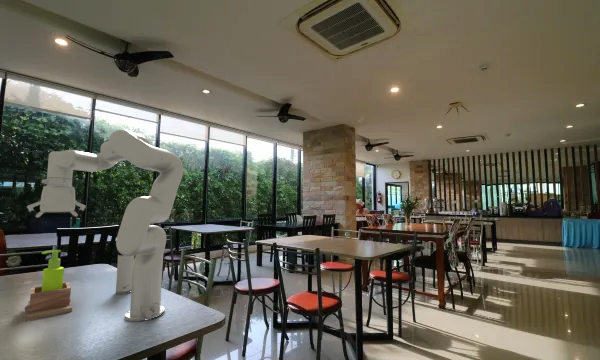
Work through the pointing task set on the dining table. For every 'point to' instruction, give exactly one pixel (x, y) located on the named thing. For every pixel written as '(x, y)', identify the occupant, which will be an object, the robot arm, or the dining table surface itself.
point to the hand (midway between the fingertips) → (56, 227)
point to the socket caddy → (49, 302)
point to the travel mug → (124, 273)
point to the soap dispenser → (53, 273)
